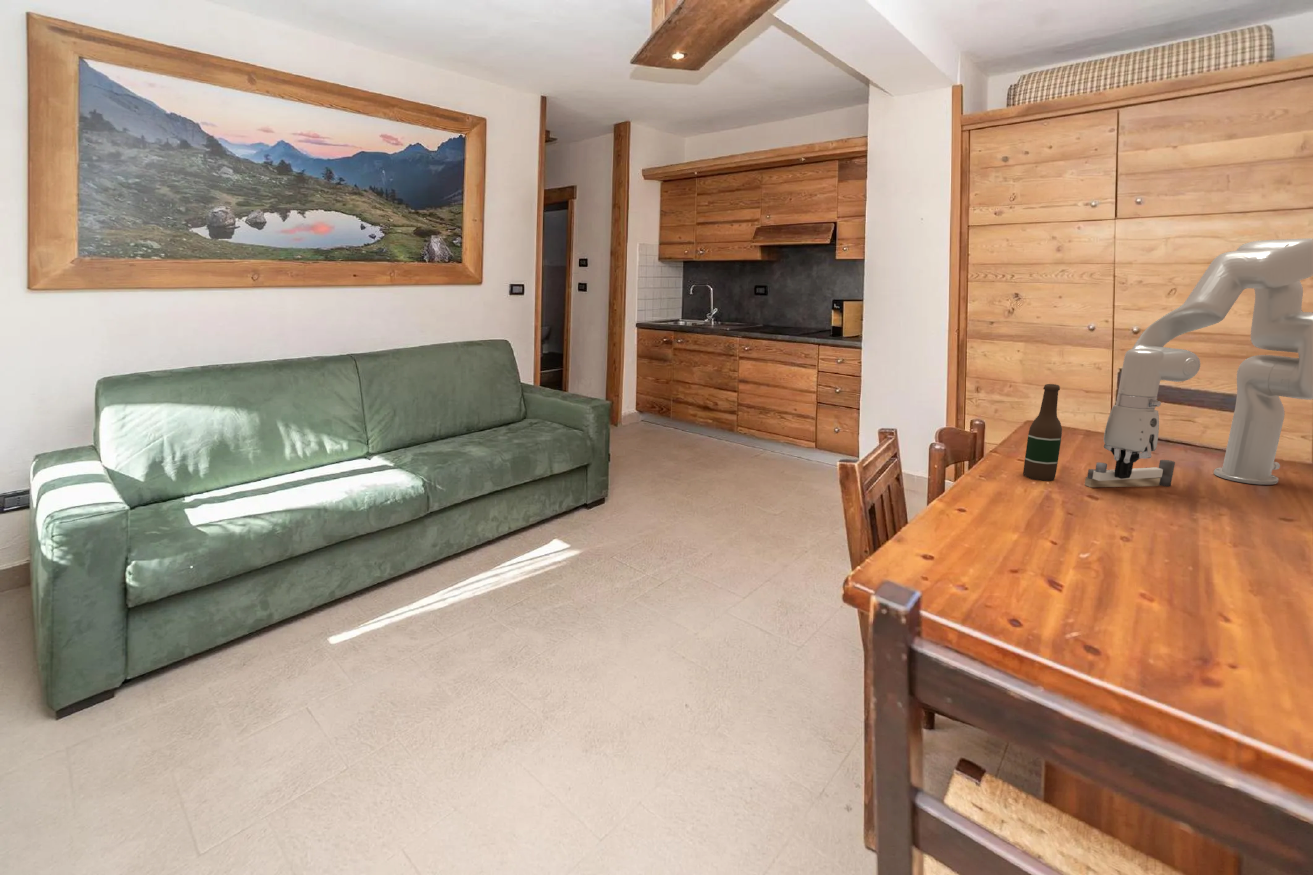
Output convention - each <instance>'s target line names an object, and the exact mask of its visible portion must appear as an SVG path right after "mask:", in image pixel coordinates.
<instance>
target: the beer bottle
mask: <svg viewBox="0 0 1313 875" xmlns="http://www.w3.org/2000/svg"><path fill="white" fill-rule="evenodd" d="M1060 389H1061V386H1060V385H1059V384H1056V383H1055V384H1053V383H1046V384H1044V386H1043V390H1044V391H1043V394H1042V400H1041V406H1040V410H1039V414H1038V416H1036V417H1035V418H1034V419H1033V421H1032V423H1031V425H1030V427H1029V431H1028V433H1027V434H1028V435H1027V440H1026V442H1027V443H1026V449H1025V457H1024V463H1023V469H1022V470H1023V477H1025V478H1027V479H1030V480H1034V481H1035V480H1036V481H1043V482H1049V481H1054V480H1055V478H1056V474H1057V470H1058V464H1059V463H1058V462H1059V457H1060V449H1061V442H1062V437H1063V434H1062V433H1063V427H1062V424H1061V421H1060V419H1059V418H1058V410H1057V409H1058V402H1059V401H1058V400H1059V391H1060Z"/></svg>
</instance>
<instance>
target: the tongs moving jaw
mask: <svg viewBox="0 0 1313 875" xmlns="http://www.w3.org/2000/svg"><path fill="white" fill-rule="evenodd" d="M1162 473H1163V469H1160V468H1159V467H1156V466H1155V467H1154V466H1152V467H1137V468H1135V467H1134V468H1132V473H1131V475H1130V478H1125V479H1141V478H1158V477H1162ZM1092 479H1095V480H1098V481H1106V480H1123V479H1120V478H1119V477H1118V478H1117V477H1115V469H1108V464H1107V463H1105V462H1099V461H1098V462H1096V464H1095V471H1094V472H1093V478H1092Z"/></svg>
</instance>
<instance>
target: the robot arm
mask: <svg viewBox="0 0 1313 875" xmlns="http://www.w3.org/2000/svg"><path fill="white" fill-rule="evenodd" d="M1311 277H1313V238H1312V237H1311V238H1287V239H1282V238H1281V239H1266V240H1265V239H1263V240H1253V241H1249V242H1247V243H1244V244H1242V245H1239V246H1238V248H1237V249H1236V250H1232V251H1225V252H1223V253H1221V254H1218V255H1217V256H1216V257H1215V258H1213V260H1212V261H1211V263H1210V264H1209V265H1208V267H1207V268H1206V270H1205V272H1204V273H1203V274H1202V276H1200V279H1199V280H1198V282H1197V283H1196V284H1195V287H1194V288H1193V289H1192V290H1191V292H1190V294H1189V295H1188V297H1187V298H1186V299H1185V301H1184V303H1182V305H1180V306H1179V307H1177V308H1174V309H1173V310H1171V311H1169V312H1168V313H1166V314H1165V315H1163V316H1161V317H1160V318H1159V319H1157V320H1156V321H1154V322H1152V323H1151V324H1150V325H1149V326H1148V327H1146V328H1145V330H1144V331H1142V333H1141V335H1140V336H1139V337H1138V338H1137V340H1136V342H1135V343H1134V345H1133V346H1132V348H1131V349H1128V350H1127V351H1126V352H1125V354H1124V358H1123V362H1122V367H1121V373H1120V379H1119V386H1118V390H1117V395H1116V396H1117V397H1116V402H1115V404H1114V405H1112V408H1111V409H1110V412H1109V416H1108V418H1107V422H1106V424H1105V429H1104V433H1103V443H1104V445H1103V448H1104V449H1105V450H1108V451H1109V452H1111V454H1112V455H1113V459H1114V460H1115V468H1114V470H1115V477H1117V478H1118V477H1119V478H1120V479H1125V478H1130V475H1131V473H1132V469H1133V466H1134V463H1136V462H1137V461H1138V460H1140V459H1144V460H1145V459H1151V458H1152V452H1155V451H1156V450H1157V447H1158V441H1159V432H1160V430H1159V429H1160V414H1159V410H1156V407H1158V408H1159V407H1160V406H1161V405H1162V402H1161V401H1160V400H1158V393H1159V390H1160V382H1161V381H1165V382H1166V381H1167V382H1174V383H1176V382H1178V383H1179V382H1180V383H1181V382H1185V381H1188V380H1191V379H1192V378H1194V377H1195V376H1196V375H1198V372H1199V371H1200V369H1201V360H1200V358H1199V356H1198V355H1197V354H1196V353H1194V352H1192V351H1190V350H1187V349H1182V348H1172V347H1166V344H1168V343H1169V342H1170V341H1172V340H1173V339H1175V338H1177V337H1179V336H1181V335H1184V334H1187V333H1189V332H1193V331H1196V330H1201V329H1203V328H1208V327H1210V326H1214V325H1217V324H1219V323H1221V322H1222V321H1223V320H1224V319H1225V318H1226V316H1227V315H1228V314H1229V312H1230V310H1231V309H1232V307H1233V306H1234V304H1235V303H1236V302H1237V300H1238V298H1239V297H1240V295H1241V294H1242V292H1243V291H1244V290H1246V289H1253V290H1254V306H1253V311H1252V312H1253V313H1252V319H1251V320H1252V321H1251V326H1250V341H1251V344H1252V345H1253V347H1255V348H1258V349H1261V350H1267V351H1274V352H1283V353H1284V352H1286V353H1294V354H1298V357H1291V356H1286V355H1285V356H1284V355H1273V354H1258V355H1253V356H1250V357H1248V358H1246V359H1244V360H1243V361H1242V362H1241V363H1240V364H1239V365H1238V368H1237V372H1236V400H1235V406H1234V411H1233V416H1232V417H1233V418H1232V420H1231V424H1230V425H1231V426H1230V431H1229V434H1228V435H1229V436H1228V440H1227V445H1226V448H1225V449H1226V450H1225V455H1224V458H1223V459H1224V460H1223V464H1222V466H1221V467H1217V468H1214V470H1213V474H1214V475H1215V476H1217V477H1219V478H1222V479H1224V480H1227V481H1233V482H1238V483H1242V484H1243V483H1244V484H1251V485H1261V486H1265V485H1266V486H1267V485H1268V486H1269V485H1271V486H1272V485H1277V484H1278V483H1279V477H1278V476H1276V475H1273V474H1272V473H1273V471H1274V470H1279V469H1280V468H1281V465H1280V463H1279V462H1277V461H1275V459H1276V455H1277V451H1278V447H1279V442H1280V437H1281V433H1282V428H1283V424H1284V419H1285V416H1286V415H1285V412H1286V411H1285V407H1284V404H1283V402H1282V400H1281V398H1280V397H1283V398H1284V397H1285V398H1292V399H1299V400H1310V401H1311V400H1313V312H1309V311H1308V312H1307V311H1303V310H1302V308H1303V307H1302V306H1303V304H1302V303H1303V298H1304V297H1303V296H1304V289H1303V284H1302V282H1301V281H1302V280H1305V279H1309V278H1311ZM1164 346H1165V347H1164Z"/></svg>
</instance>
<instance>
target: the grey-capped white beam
mask: <svg viewBox="0 0 1313 875" xmlns="http://www.w3.org/2000/svg"><path fill="white" fill-rule="evenodd" d="M1175 464H1176V462H1175V461H1174V460H1169V459H1160V460H1159V464H1158V468H1160V469H1163V473H1162V477H1158V478H1141V479H1123V480H1106V481H1098V480H1095V479H1092V478H1093V472H1094V471H1095V469H1096V468H1095V469H1094V468H1088V472H1087V476H1085V478H1084V479H1085V480H1084V486H1087V487H1089V488H1116V487H1117V488H1118V487H1119V488H1120V487H1121V488H1122V487H1123V488H1125V487H1126V488H1127V487H1159V486H1161V487H1171V486H1172V480H1173V475H1174V470H1175Z"/></svg>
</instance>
